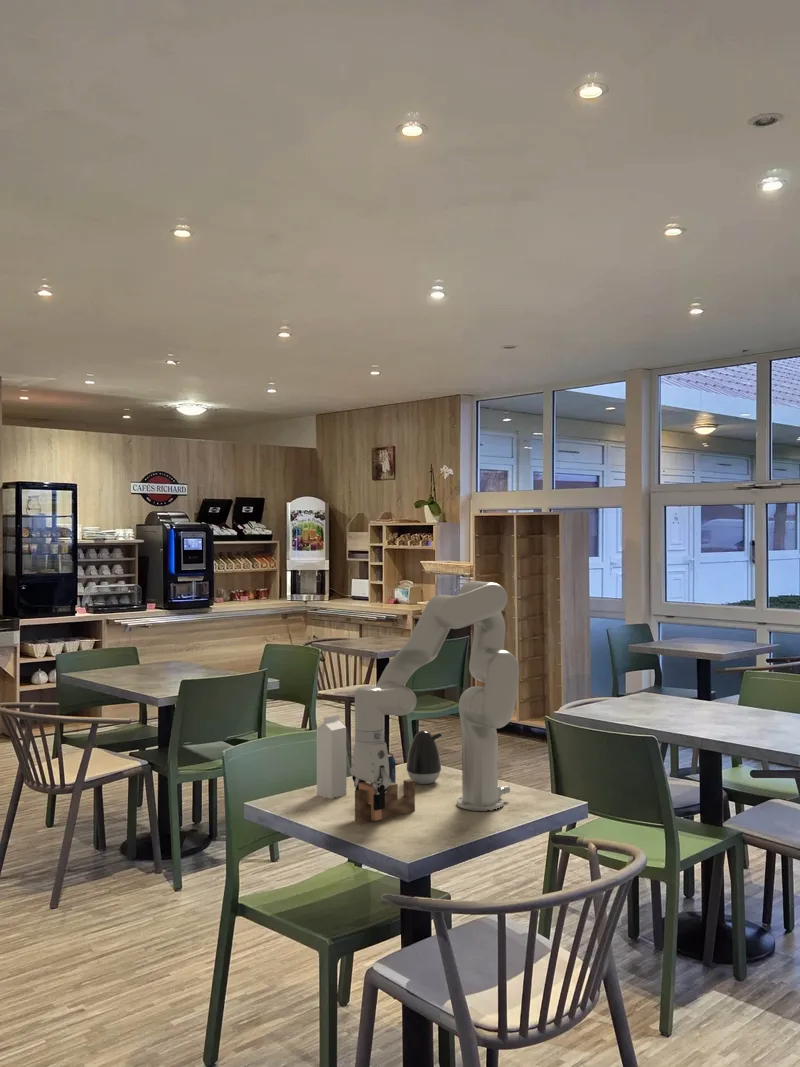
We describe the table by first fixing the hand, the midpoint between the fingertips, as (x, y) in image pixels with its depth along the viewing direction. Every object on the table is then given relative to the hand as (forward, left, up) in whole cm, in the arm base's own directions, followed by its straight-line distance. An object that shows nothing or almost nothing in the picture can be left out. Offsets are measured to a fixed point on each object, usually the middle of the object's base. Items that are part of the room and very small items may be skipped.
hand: (370, 805), depth 232 cm
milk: (-6, -26, -4) cm, 27 cm away
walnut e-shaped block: (-5, 0, -4) cm, 6 cm away
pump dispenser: (-35, -20, -4) cm, 40 cm away
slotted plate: (0, 0, -3) cm, 3 cm away
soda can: (-15, -14, -4) cm, 21 cm away
